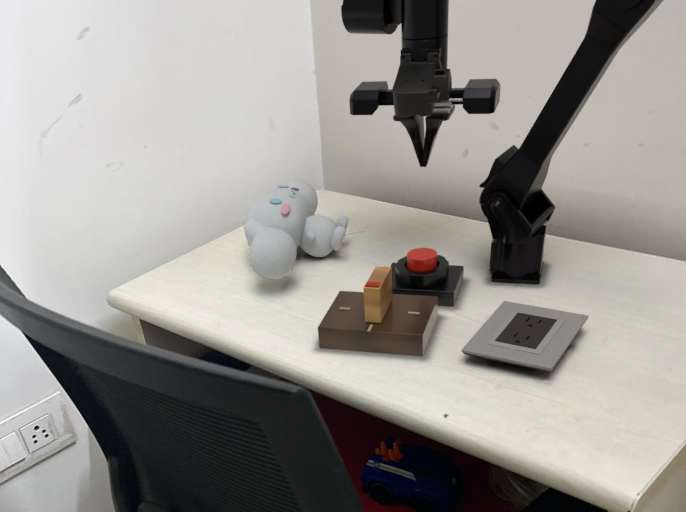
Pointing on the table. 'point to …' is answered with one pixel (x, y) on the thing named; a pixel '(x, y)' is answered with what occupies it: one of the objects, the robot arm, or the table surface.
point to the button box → (428, 281)
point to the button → (422, 259)
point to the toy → (288, 229)
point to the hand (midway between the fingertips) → (423, 166)
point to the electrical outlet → (525, 336)
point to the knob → (378, 294)
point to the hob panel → (379, 325)
